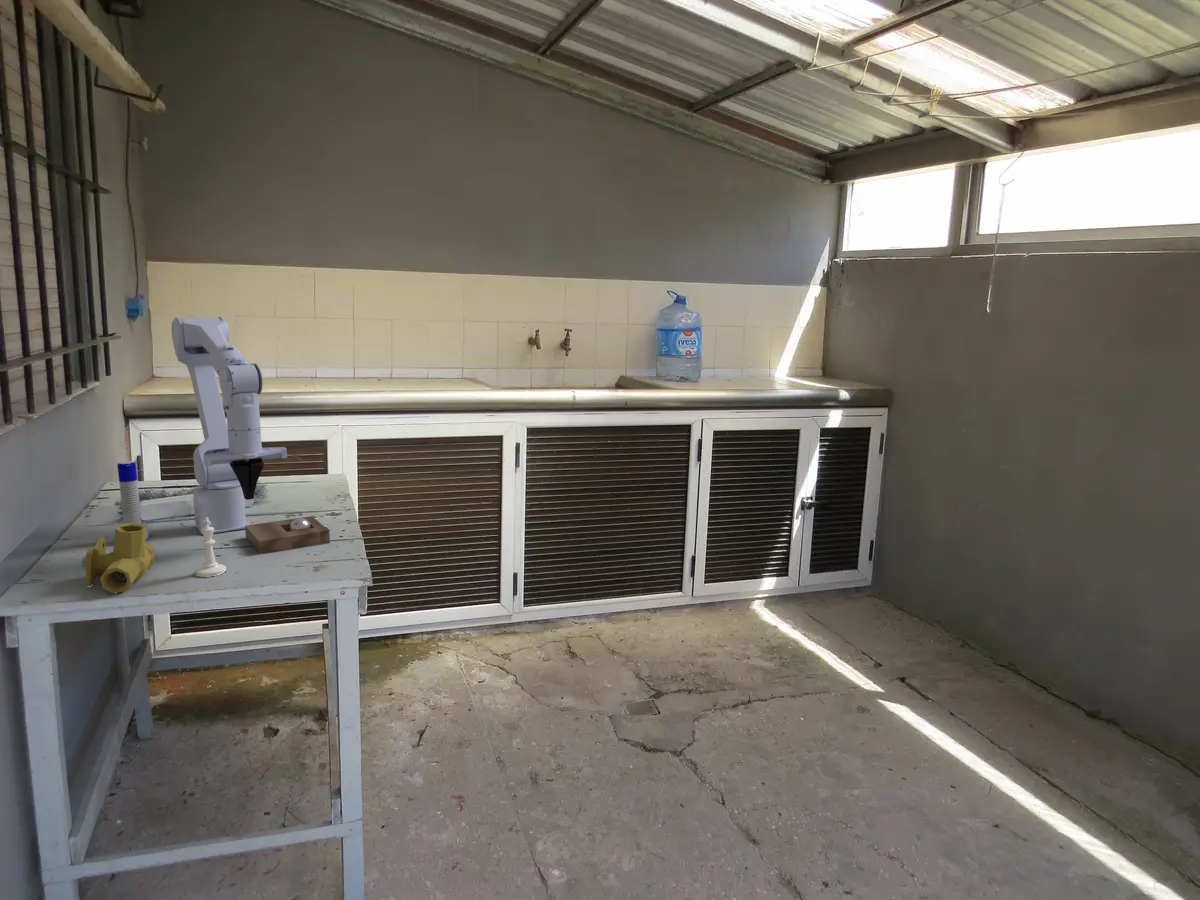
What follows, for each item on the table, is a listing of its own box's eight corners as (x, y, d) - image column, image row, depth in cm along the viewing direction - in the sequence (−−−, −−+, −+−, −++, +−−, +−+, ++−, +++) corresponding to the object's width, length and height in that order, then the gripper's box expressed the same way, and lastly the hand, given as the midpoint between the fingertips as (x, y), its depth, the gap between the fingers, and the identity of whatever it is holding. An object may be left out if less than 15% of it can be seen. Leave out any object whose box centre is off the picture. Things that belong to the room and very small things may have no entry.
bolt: (142, 543, 157) (114, 544, 157) (153, 536, 162) (126, 536, 162) (134, 465, 154) (106, 465, 154) (145, 459, 159) (118, 459, 159)
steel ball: (317, 521, 163) (309, 538, 161) (308, 527, 166) (300, 543, 163) (300, 512, 161) (291, 529, 159) (291, 517, 164) (283, 534, 161)
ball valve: (158, 571, 145) (95, 567, 142) (160, 517, 143) (97, 512, 140) (134, 602, 133) (66, 598, 131) (137, 543, 131) (67, 538, 128)
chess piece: (206, 579, 139) (201, 523, 137) (189, 574, 141) (184, 518, 139) (232, 571, 143) (228, 516, 141) (215, 566, 145) (211, 512, 143)
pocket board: (260, 554, 152) (259, 541, 152) (245, 537, 162) (245, 525, 161) (329, 542, 160) (329, 530, 159) (312, 527, 169) (311, 516, 169)
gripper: (206, 435, 146) (212, 508, 148) (289, 428, 154) (293, 497, 157) (198, 429, 151) (204, 500, 154) (279, 422, 160) (283, 489, 162)
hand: (249, 498), depth 156 cm, fingers closed
